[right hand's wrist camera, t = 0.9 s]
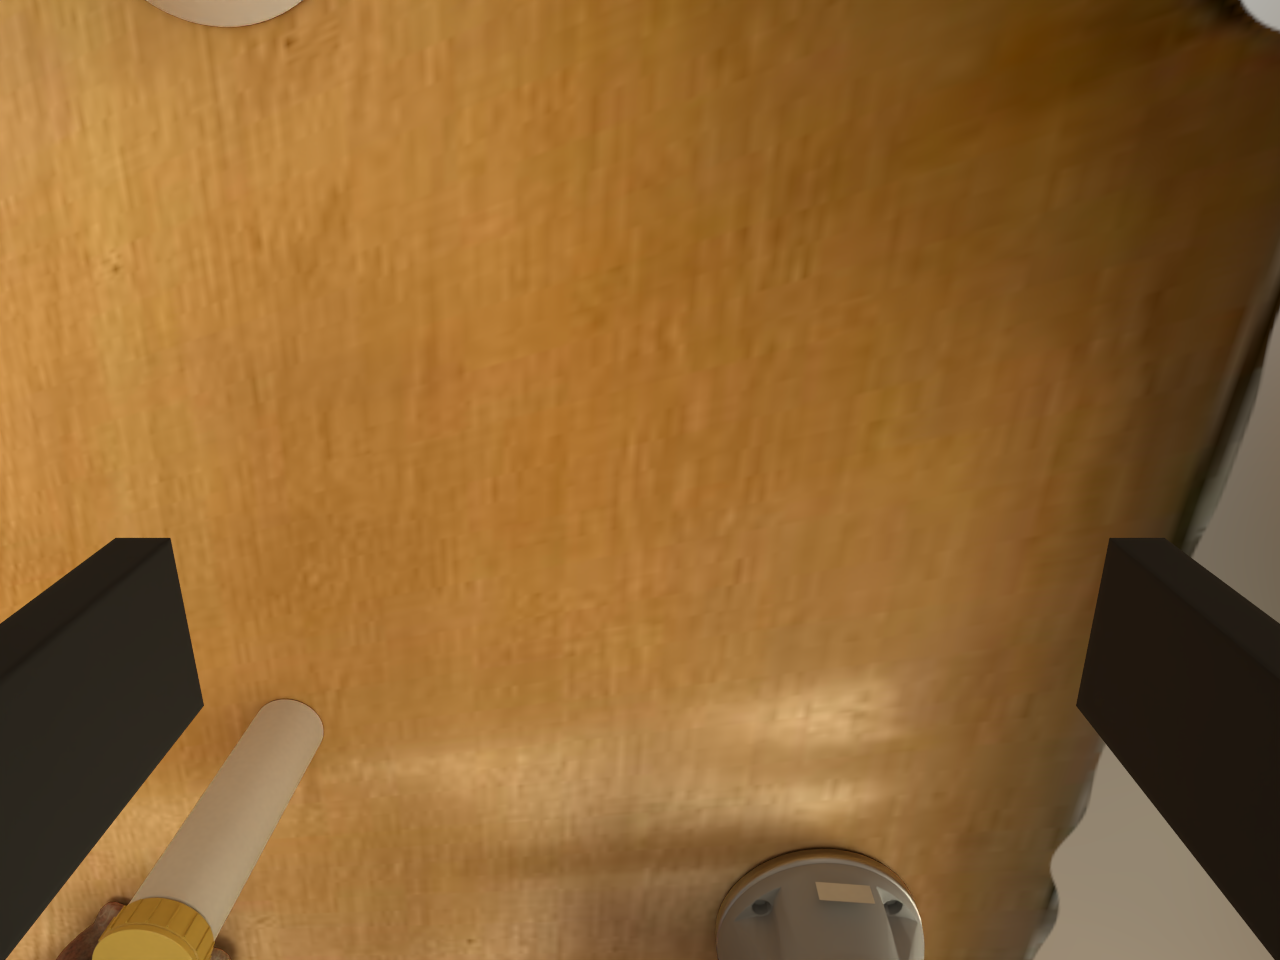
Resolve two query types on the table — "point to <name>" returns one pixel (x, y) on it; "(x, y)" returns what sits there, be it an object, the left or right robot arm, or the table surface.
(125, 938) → the lid
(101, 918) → the sculpture
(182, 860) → the jar
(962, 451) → the table surface
